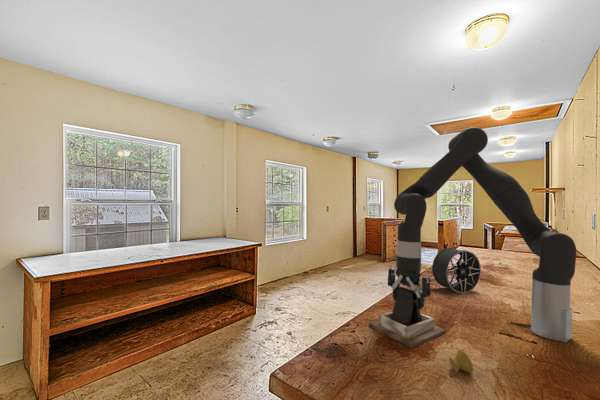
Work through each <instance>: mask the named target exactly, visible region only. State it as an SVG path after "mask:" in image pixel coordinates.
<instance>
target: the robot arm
mask: <svg viewBox="0 0 600 400" xmlns="http://www.w3.org/2000/svg"><path fill="white" fill-rule="evenodd" d="M488 142H489V137H488V135H487V133H486V131H485V130H483V129H482V128H480V127H477V126H471V127H468V128H465V129H464V130H462V131H460V132H459V133H458V134H456V135H455V136H454V137H453V138H451V140H450V141H449V142H448V146H447V147H448V152H446V154H445V155H444V156H442V157H441V158H440V159H438V161H437V162H435V163H434V164H433V165H432V166H431V167H430V168H429V169H427V170H426V171H425V172H424V173H423V174H422V175H421V176H420V177H419V178H418V180H417V181H416V182H414V183H413V184H412V185H410V186H408V187H407V188H406V189H405V188H404V190H403V191H402V192H400V193H399V194H398V195H397V197H396V198H395V199H394V203H393V204H394V205H393V208H394V210H395V211H396V213H398V214H400V215H405V217H404V221H403V222H400V223H399V224H398V226H397V243H396V256H395V257H396V258H395V261H396V262H395V263H396V265H395V267H392V268H388V270H387V271H388V274H387V286H389V287H391V288H392V298H393V301H395V300H396V295H397V293H396V291H397V288H398V287H402V286H406V287H408V288H411V290H412V291H415V293H416V295H417V305H416V308H417V309H419V310H420V311H421V310H422V309H423V308H424V307H425V298H429V297H430V296H431V295H432V294H431V278H430V276H422V275H421V269H422V243H421V240H422V239H421V238H422V226H423V224H424V222H425V221H424V220H425V216H426V213H427V201H426V199H429V198H430V199H431V197H433V196H435V195H436V193H438V192H439V190H440V189H441V188H443V186H444V185H445V184H446V183H447V182H448V181H449V180H450V179H451V178H452V176H454V174H455V173H456V172H457V171H458V170H459V169H460V168H461V167H463V168H464V169H465V170H466V171H467V172H468V173H469V175H470V176H471V177H472V178H473V179H474V180H475V181H476V183H478V185H479V186H480V187H481V189H483V191H484V192H485V193H486V195H487V196H488V197H489V198H490V200H491V201H492V202H493V203H494V204H495V206H496V207H497V208H498V209H499V210H500V211H501V213H502V214H503V215H504V216H505V218H506V219H507V220H508V222H510V223H511V224H512V225H513V227H515V229H516V231H518V233H519V235H520V236H521V237H522V239H523V241H524V242H525V244H526V246H527V247H528V248H529V250H530V251H531V252H532V253H533V254H534V255H535V256H537V257H539V263H538V264H539V265H538V267H537V268H536V269H533V270H532V273H531V274H532V275H531V276H532V278H531V283H532V284H531V285H532V286H531V317H530V331H531V333H534V334H535V335H537V336H539V337H542V338H545V339H549V340H552V341H557V342H561V343H565V344H566V343H567V342H568V341H570V340H571V339H572V338H573V337H572V335H573V331H572V330H573V308H572V307H571V285H572V279H573V277H574V276H575V272H576V261H577V245H576V244H575V241H574V240H573V238H572V237H571V236H569V235H567V234H565V233H561V232H557V231H552V230H550V229H549V227H547V226H546V225H545V224H544V223H543V222H542V221H541V220H540V218H539V217H538V216H537V214H536V212H535V210H534V207H533V204H532V202H531V198H530V197H529V196H530V195H529V194H528V193H527V192H526V190H525V189H524V188H523V186H522V185H521V184H520V182H518V181H517V180H516V179H515V178H514V177H513V176H511V175H510V174H508V173H506V172H504V171H502V170H500V169H498V168H496V167H494V166H492V165H490V164H489V163H488V162H487V161H486V160H484V158H483V157H482V156H481V155H480V154H479V153H481V152H482V151H484V149H485V148H486V146H488ZM396 276H397V279H396Z"/></svg>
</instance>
